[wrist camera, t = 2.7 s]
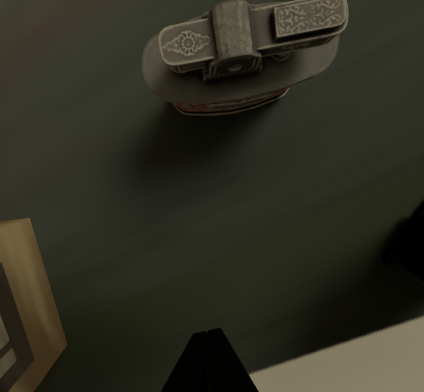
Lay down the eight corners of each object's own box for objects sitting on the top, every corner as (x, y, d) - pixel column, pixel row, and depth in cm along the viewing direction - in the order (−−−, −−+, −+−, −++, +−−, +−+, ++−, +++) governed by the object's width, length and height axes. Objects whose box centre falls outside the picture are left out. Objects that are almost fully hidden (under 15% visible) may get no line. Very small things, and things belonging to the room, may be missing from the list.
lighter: (177, 123, 18) (132, 107, 8) (167, 73, 17) (105, -9, 8) (290, 103, 18) (380, 62, 8) (285, 50, 17) (377, -66, 7)
